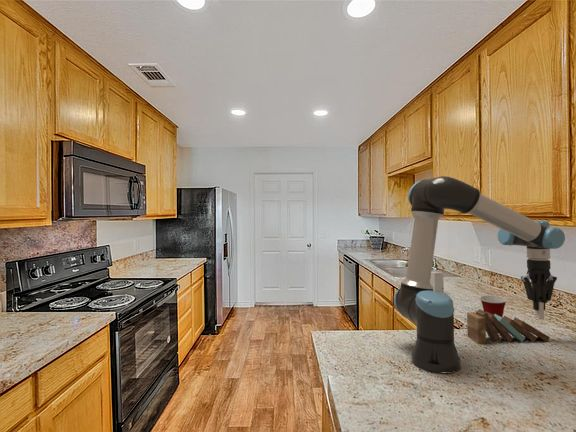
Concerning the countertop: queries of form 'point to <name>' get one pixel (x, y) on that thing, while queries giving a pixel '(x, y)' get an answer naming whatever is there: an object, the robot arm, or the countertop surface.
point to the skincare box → (437, 281)
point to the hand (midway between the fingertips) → (539, 318)
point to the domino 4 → (520, 329)
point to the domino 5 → (532, 329)
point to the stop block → (476, 327)
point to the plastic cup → (493, 304)
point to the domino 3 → (510, 328)
